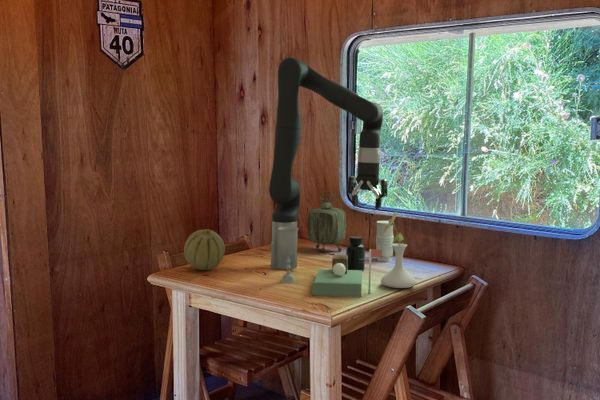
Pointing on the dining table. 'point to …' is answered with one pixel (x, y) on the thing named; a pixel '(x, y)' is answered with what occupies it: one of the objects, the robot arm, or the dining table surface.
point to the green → (337, 283)
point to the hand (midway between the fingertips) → (366, 207)
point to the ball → (339, 269)
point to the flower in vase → (397, 264)
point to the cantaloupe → (204, 249)
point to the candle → (384, 241)
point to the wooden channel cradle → (340, 261)
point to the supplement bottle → (356, 253)
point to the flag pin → (371, 254)
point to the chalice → (288, 249)
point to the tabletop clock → (326, 224)
